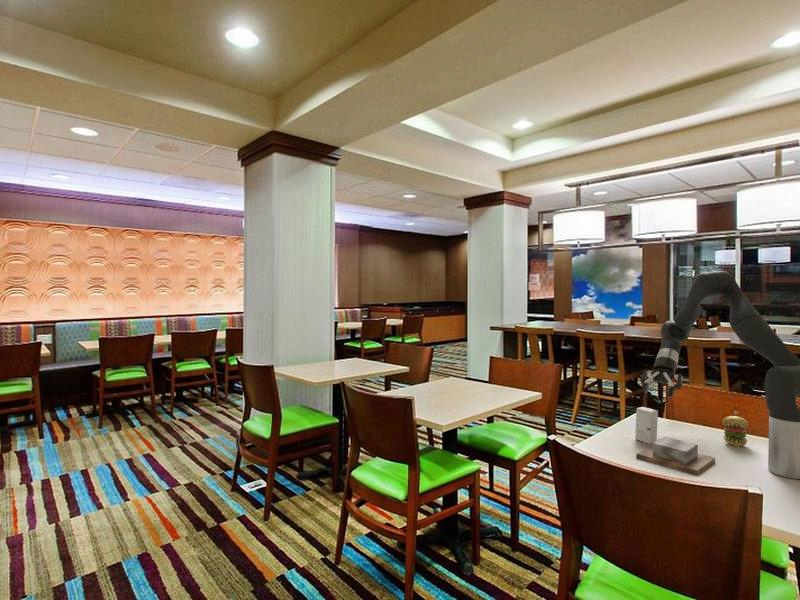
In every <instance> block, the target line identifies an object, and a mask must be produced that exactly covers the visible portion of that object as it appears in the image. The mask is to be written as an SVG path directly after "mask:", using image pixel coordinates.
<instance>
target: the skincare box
mask: <svg viewBox="0 0 800 600" xmlns="http://www.w3.org/2000/svg"><path fill="white" fill-rule="evenodd" d="M658 415H659V410H656V409H653V408H649V407H645V406H641V407H637V408H636V414H635V436H634V438H635V440H636V439H637V440H636V441H639V440H640V441H639V442H642V441H643V443H646V444H648V445H649V444H650V445H652V444H653V443H654V442H656V441H658V439H657V438H658ZM651 443H652V444H651Z"/></svg>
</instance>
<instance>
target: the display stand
mask: <svg viewBox="0 0 800 600" xmlns="http://www.w3.org/2000/svg"><path fill="white" fill-rule="evenodd" d="M638 458H640V459H639V460H642V459H643V460H642V461H645V460H646V462H650V463H653V464H657V465H660V466H664V467H667V468H670V469H674V470H678V471H681V472H684V473H688V474H691V475H695V476H698V475H700V474H701V473H702V472H704V471H705V470H707V469H708V468H709V467H711V466H712V465H713V464H715V463H716V457H713V456H710V455H705V454H701V453H699V444H698V443H692V442H689V441H685V440H681V439H676V438H672V437H668V436H664V437H661V438H659V439H657V441H656V442H654V443H652V444H650V446H648V447H646V448H644V449H642V450H640V451H638V452H637V453H636V459H638Z"/></svg>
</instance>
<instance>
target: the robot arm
mask: <svg viewBox="0 0 800 600" xmlns="http://www.w3.org/2000/svg"><path fill="white" fill-rule="evenodd" d="M719 296H720V297H722V298H723V299H724V300H725V301H726V303H727V304H728V305H729V309H730V311H729V325H730V328H731V329H732V331H733V333H735V335H736V336H737V337H738V338H739V340H740V341H741V342H742V343H743V344H744V345H745V346H746V347H748V348H749V349H751V350H753V351H755V352H756V353H757V354H759V355H761V356H762V357H764V358H765V359H766V360H768V361H769V362H770V363H771V364H772V365H773V366H771V368H769V369H768V370H767V372H766V374H765V377H764V379H765V380H764V387H765V389H764V390H765V402H766V403H765V405H766V407H767V410H768V451H767V452H768V455H767V457H768V461H767V468H768V471H769V472H771V473H773V474H774V475H777V476H780V477H783V478H784V477H785V478H788V479H795V480H800V407H799V406H798V405H797V397H800V358H799V357H798V356H797V355H795V354H794V352H793V351H792V350H791V349H790V348H789V347H788V346H787V345H786V344H785V343H784V341H783V340H782V339H781V338H780V336H779V335H778V334H776V332H775V331H774V330H773V329H772V327H771V326H770V324H769V323H768V322H767V321H766V319H764V317H763V316H762V314H760V313H759V311H757V309H756V308H755V307H754V306H753V304H752V303H751V302H750V300H749V299H748V298H747V297H746V295H745V293H744V292H743V290H742V289H741V287H740V285H739V284H738V283H737V280H735V278H734V277H733V275H731V274H730V273H729V272H728V271H726V270H725V271H724V270H715V271H704V272H702V273H699V274H697V276H696V277H695V279H694V281H693V283H692V285H691V288H690V289H689V292H688V294H687V297H686V299H685V301H684V303H683V305H682V307H681V308H680V309H679V311H678V312H677V313H676V314H675V316H674V318H673V321H671V320H666V321H665V322H663V323H662V325H661V328H660V336H661V337H660V338H661V345H660V347H659V351H658V353H657V355H656V357H655V361H654V365H653V367H652V368H653V369H652V370H651V371H650V370H647V369H646V368H645V369H643V371H642V374H641V376H640V379H639V381H640V383H641V385H642V386H643V387H642V392H644V394H645V395H646V394H648V391H649V388H650V386H651V385H654V384H655V383H656V384H663V385H664V384H665V385H666V384H668V386H669V389H668V392H667V397H668V398H672V397H673V396H674V394H675V391H676V390H682V385H683V380H684V378H683V375H682V373H678V374H676V370H677V365H678V363H679V355H680V352H681V348H682V345H681V343H684V342H686V341H688V339H690V334H691V330H692V327H693V325H694V324H695V323H696V322H697V320H698V319H699V318H700V316H701V313H702V307H701V302H702V301H704V300H705V299H706V298H707V297H719ZM674 379H675V380H676V384H674V382H673V381H672V380H674Z"/></svg>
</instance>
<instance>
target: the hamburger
mask: <svg viewBox="0 0 800 600" xmlns="http://www.w3.org/2000/svg"><path fill="white" fill-rule="evenodd" d="M733 414H734V415H729V416H726V417H724V418H723V419H722V425H723V426H725V427H724V428H723V430H724V431H723V434H724V435H723V439H724V441H725V442H726V443H727V444H729V445H731V446H733V447H737V446H740V447H744V446H745V445H746V444H747V443H748V439H747V434H748V432H747V430H746V428H748V427H749V422H748V420H746V419H745V418H743V417H741V416H738V415H737V414H739V411H736V410H733ZM736 415H737V416H736Z"/></svg>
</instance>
